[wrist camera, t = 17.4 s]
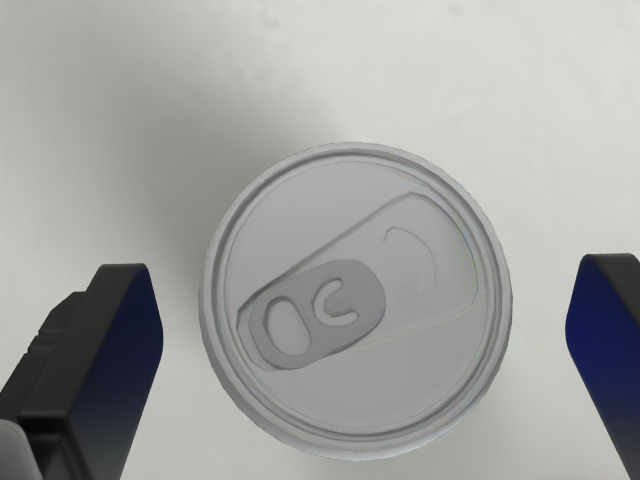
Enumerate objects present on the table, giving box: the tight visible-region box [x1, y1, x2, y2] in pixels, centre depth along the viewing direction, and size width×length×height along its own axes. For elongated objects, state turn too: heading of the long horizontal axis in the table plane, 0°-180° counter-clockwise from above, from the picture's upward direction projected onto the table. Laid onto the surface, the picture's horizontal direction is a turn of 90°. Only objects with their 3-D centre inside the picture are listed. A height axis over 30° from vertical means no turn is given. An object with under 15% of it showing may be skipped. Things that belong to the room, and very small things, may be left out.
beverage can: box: [198, 142, 513, 461], centre depth 16 cm, size 5×5×15 cm
